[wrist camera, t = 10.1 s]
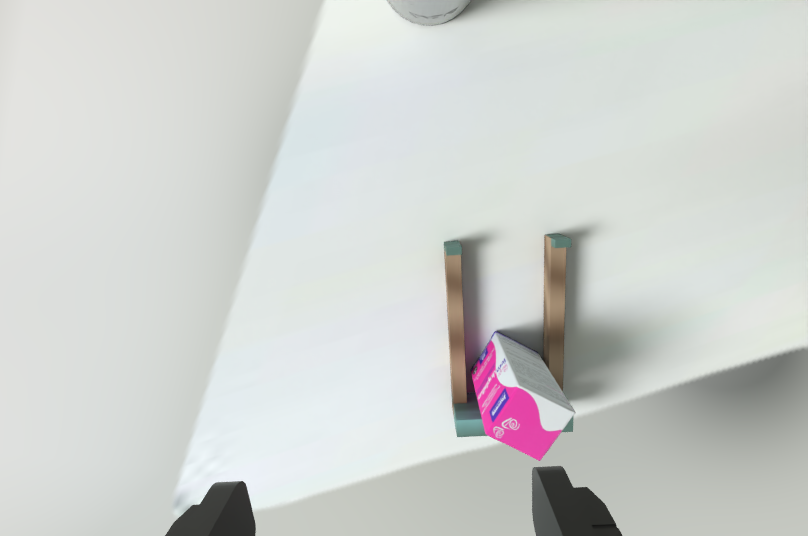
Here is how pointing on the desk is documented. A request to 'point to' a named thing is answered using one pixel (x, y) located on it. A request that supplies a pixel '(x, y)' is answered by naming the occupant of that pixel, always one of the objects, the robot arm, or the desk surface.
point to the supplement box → (519, 397)
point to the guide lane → (553, 340)
